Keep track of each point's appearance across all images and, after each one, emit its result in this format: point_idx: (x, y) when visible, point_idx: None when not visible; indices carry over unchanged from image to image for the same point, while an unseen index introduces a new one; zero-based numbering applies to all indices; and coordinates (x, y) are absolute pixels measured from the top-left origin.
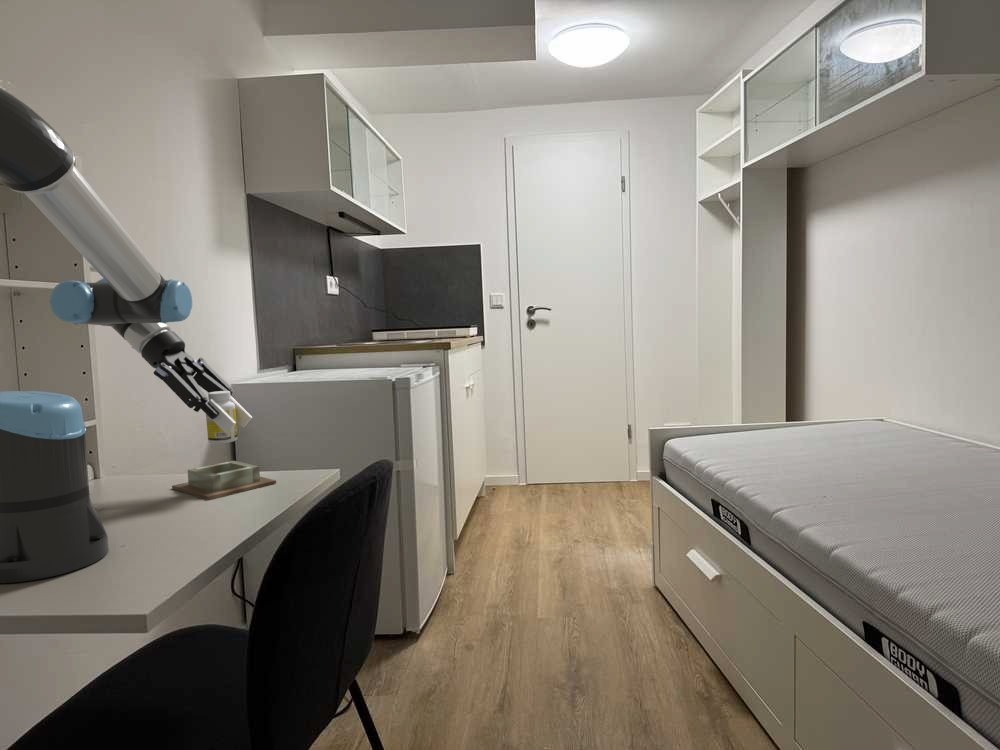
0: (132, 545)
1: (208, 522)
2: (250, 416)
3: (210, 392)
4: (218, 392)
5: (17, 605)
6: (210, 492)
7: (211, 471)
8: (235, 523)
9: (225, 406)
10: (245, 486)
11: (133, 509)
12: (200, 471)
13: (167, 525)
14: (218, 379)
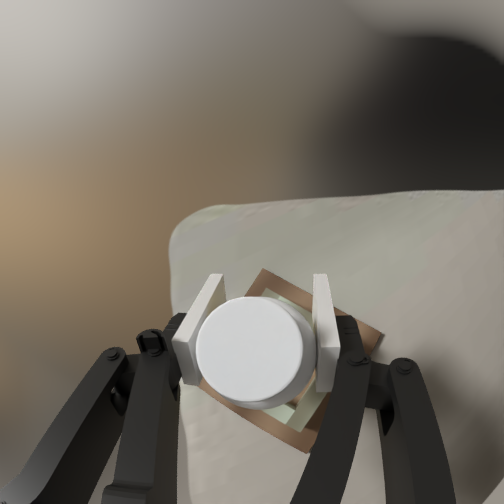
0: None
1: (465, 258)
2: (216, 276)
3: (248, 397)
4: (252, 350)
5: None
6: None
7: None
8: (457, 223)
9: (293, 308)
10: (310, 303)
11: None
12: (316, 394)
13: (484, 305)
14: (92, 411)
